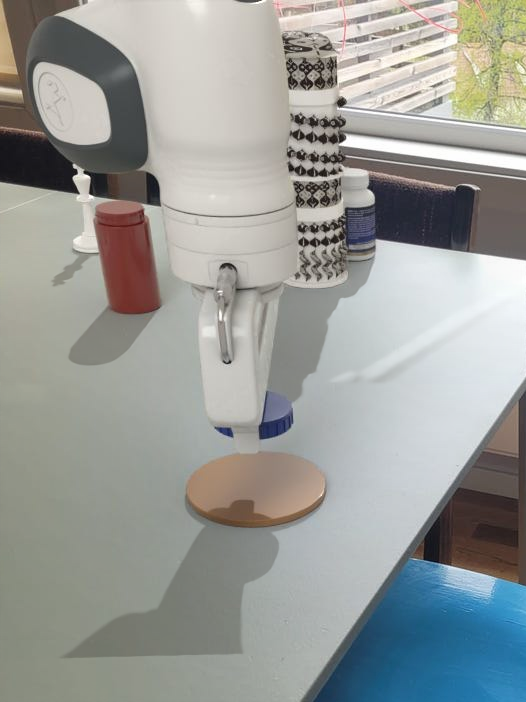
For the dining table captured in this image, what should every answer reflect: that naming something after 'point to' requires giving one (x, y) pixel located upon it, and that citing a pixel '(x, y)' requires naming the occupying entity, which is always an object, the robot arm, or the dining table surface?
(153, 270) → the jar
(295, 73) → the decorative candle
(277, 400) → the lid
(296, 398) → the dining table surface
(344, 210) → the pill bottle
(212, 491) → the coaster
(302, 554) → the dining table surface
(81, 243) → the chess piece
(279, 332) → the dining table surface
